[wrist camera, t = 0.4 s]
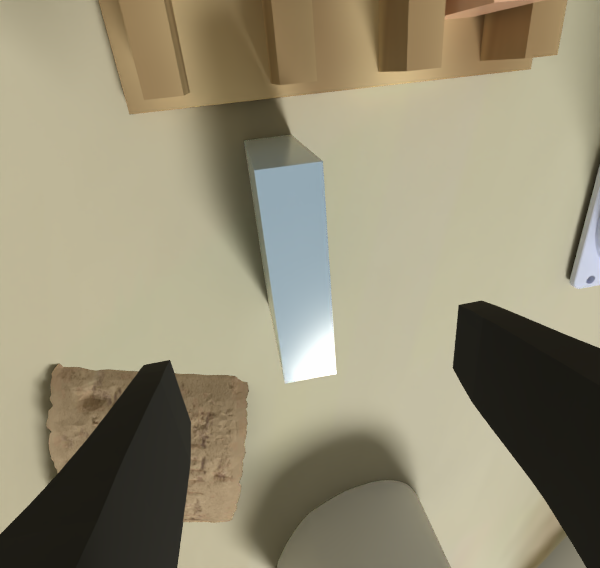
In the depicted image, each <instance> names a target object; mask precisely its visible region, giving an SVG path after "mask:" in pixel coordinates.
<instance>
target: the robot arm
mask: <svg viewBox="0 0 600 568" xmlns="http://www.w3.org/2000/svg"><path fill="white" fill-rule="evenodd" d="M588 277H589V278H588ZM587 278H588V279H587ZM570 284H571V285H572V286H573V287H575V288H577V289H580V288H586V287H591V286H597V285H600V166H599V170H598V174H597V177H596V181H595V185H594V189H593V193H592V197H591V200H590V204H589V208H588V212H587V216H586V220H585V223H584V227H583V231H582V235H581V239H580V243H579V246H578V250H577V254H576V258H575V262H574V266H573V270H572V273H571V277H570ZM453 369H454V371H455V373H456V375H457V377H458V378H459V380H460V382H461V384H462V386H463V387H464V389H465V391H466V393H467V394H468V396H469V398H470V399H471V401H472V403H473V404H474V405H475V407H476V408H477V409H478V411H479V412H480V414H481V415H482V416H483V418H484V419H485V420H486V422H487V423H488V424H489V426H490V427H491V428H492V430H493V431H494V432H495V433H496V435H497V436H498V437H499V439H500V440H501V441H502V443H503V444H504V445H505V447H506V448H507V449H508V450H509V452H510V453H511V454H512V456H513V457H514V458H515V460H516V461H517V462H518V464H519V465H520V466H521V468H522V469H523V470H524V471H525V473H526V474H527V475H528V477H529V478H530V479H531V481H532V482H533V484H534V485H535V486H536V488H537V489H538V491H539V492H540V493H541V495H542V496H543V498H544V499H545V501H546V502H547V504H548V505H549V507H550V509H551V510H552V512H553V513H554V515H555V517H556V518H557V520H558V521H559V523H560V525H561V526H562V528H563V529H564V531H565V533H566V534H567V536H568V537H569V539H570V540H571V542H572V544H573V545H574V547H575V549H576V551H577V552H578V554H579V556H580V557H581V559H582V561H583V562H584V564H585V566H586V567H587V568H600V348H598V347H595V346H593V345H590V344H588V343H585V342H583V341H580V340H577V339H575V338H573V337H570V336H568V335H565V334H563V333H560V332H558V331H556V330H553V329H551V328H548V327H546V326H544V325H541V324H539V323H537V322H534V321H532V320H529V319H527V318H525V317H522V316H520V315H518V314H515V313H513V312H510V311H508V310H506V309H503V308H501V307H498V306H495V305H493V304H490V303H487V302H484V301H477V302H472V303H467V304H462V305H459V309H458V319H457V330H456V340H455V351H454V361H453ZM190 464H191V421H190V418H189V415H188V412H187V409H186V406H185V403H184V400H183V397H182V394H181V391H180V388H179V385H178V382H177V379H176V376H175V373H174V370H173V368H172V365H171V362H170V360H168V361H163V362H158V363H153V364H147V365H144V366H143V367H142V368H141V369H140V371H139V372H138V373H137V375H136V376H135V377H134V378H133V380H132V381H131V382H130V384H129V385H128V386H127V388H126V389H125V390H124V392H123V393H122V394H121V396H120V397H119V398H118V400H117V401H116V402H115V404H114V405H113V406H112V408H111V409H110V410H109V412H108V413H107V414H106V416H105V417H104V418H103V419H102V421H101V422H100V423H99V425H98V426H97V427H96V428H95V430H94V431H93V432H92V433H91V435H90V436H89V437H88V439H87V440H86V441H85V442H84V443H83V444H82V446H81V447H80V448H79V449H78V450H77V452H76V453H75V454H74V455H73V456H72V457H71V459H70V460H69V461H68V462H67V463H66V465H65V466H64V467H63V468H62V469H61V470H60V472H59V473H58V474H57V475H56V476H55V477H54V479H53V480H52V481H51V482H50V483H49V484H48V485H47V486H46V487H45V489H44V490H43V491H42V492H41V493H40V494H39V495H38V496H37V497H36V498H35V499H34V500H33V501H32V502H31V504H30V505H29V506H28V507H27V508H26V509H25V510H24V511H23V512H22V513H21V514H20V515H19V516H18V517H17V518H16V519H15V520H14V521H13V522H12V523H11V524H10V525H9V526H8V527H7V528H6V529H5V530H4V531H3V532H2V533H1V534H0V568H177V564H178V557H179V549H180V542H181V534H182V527H183V519H184V512H185V504H186V497H187V489H188V481H189V473H190Z"/></svg>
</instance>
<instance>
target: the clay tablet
mask: <svg viewBox="0 0 600 568" xmlns="http://www.w3.org/2000/svg"><path fill="white" fill-rule="evenodd" d="M137 373H138V372H137V371H120V370H109V369H107V370H99V371H94V370H88V369H84V368H80V367H63V366H62V365H61V364H58V365H57V366H56V367H55V369H54V370H53V371H52V373H51V374H52V379H51V383H50V384H51V396H50V398H49V399H50V401H51V403H52V404H53V407H52V408H51V409H49V410H48V419H47V422H46V426H47V428H48V429H49V430H50V431H52V432H51V433H50V436H49V441H48V442H49V451H50V455H51V459H52V461H53V462H54V467H55V468H56V469H57V474H58V473H59V472H60V470H61V469H62V468H63V467H64V466H65V465H66V463H67V462H68V461H69V460H70V459H71V457H72V456H73V455H74V454H75V453H76V452H77V450H78V449H79V448H80V447H81V446H82V444H83V443H84V442H85V441H86V440H87V439H88V437H89V436H90V435H91V433H92V432H93V431H94V430H95V428H96V427H97V426H98V425H99V423H100V422H101V421H102V419H103V418H104V417H105V416H106V414H107V413H108V412H109V410H110V409H111V408H112V406H113V405H114V404H115V402H116V401H117V400H118V398H119V397H120V396H121V394H122V393H123V392H124V390H125V389H126V388H127V386H128V385H129V384H130V382H131V381H132V380H133V378H134V377H135V376H136V375H137ZM175 376H176V379H177V382H178V385H179V388H180V391H181V394H182V397H183V400H184V403H185V406H186V409H187V412H188V415H189V418H190V421H191V464H190V473H189V481H188V489H187V497H186V504H185V512H184V519H183V522H213V523H215V522H226V521H230V520H232V517H233V516H234V514H233V513H234V512H235V511H236V509H237V506H236V504H237V501H238V499H239V496H240V492H241V485H240V484H239V480H240V479H241V476H242V472H243V470H242V467H243V462H242V461H243V459H244V456H245V453H246V452H245V446H244V443H245V439H246V434H247V431H246V426H247V424H248V423H247V419H246V417H247V411H246V408H247V401H246V398H247V395H248V392H249V390H248V384H247V382H243V381H241V380H239V379H238V378H237V377H235V376H229V375H198V374H176V373H175Z"/></svg>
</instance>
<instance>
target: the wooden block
mask: <svg viewBox="0 0 600 568" xmlns="http://www.w3.org/2000/svg"><path fill="white" fill-rule="evenodd" d="M539 1H543V0H446V5H445V19H444V20H447V19H457V18H467V17H475V16H479V15H483V14H488V13H492V12H496V11H500V10H505V9H509V8H513V7H518V6H522V5H526V4H531V3H535V2H539Z"/></svg>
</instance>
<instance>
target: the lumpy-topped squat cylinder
mask: <svg viewBox="0 0 600 568" xmlns="http://www.w3.org/2000/svg"><path fill="white" fill-rule="evenodd" d="M277 568H451V567H450V565H449V563H448V560H447V558H446V556H445V554H444V552H443V550H442V547H441V545H440V543H439V541H438V539H437V537H436V535H435V532H434V530H433V528H432V526H431V524H430V522H429V520H428V517H427V515H426V513H425V511H424V509H423V507H422V504H421V502H420V500H419V498H418V496H417V494H416V493H415V491H414V490H413V489H412V488H411V487H410V486H409V485H407V484H405V483H403V482H400V481H395V480H381V481H375V482H370V483H367V484H363V485H360V486H357V487H354V488H352V489H349V490H347V491H345V492H342V493H341V494H339V495H337V496H335V497H333V498H332V499H330V500H328V501H327V502H325V503H324V504H322V505H320V506H319V507H317V508H316V509H314V510H313V511H312V512H310V513H309V514H308V515H307V516H306V517H305V518H304V519H303V520H302V522H301V523H300V524H299V525H298V527H297V528H296V530H295V531H294V532H293V534H292V535H291V537H290V539H289V540H288V542H287V544H286V545H285V547H284V550H283V552H282V554H281V556H280V558H279V560H278V564H277Z"/></svg>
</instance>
